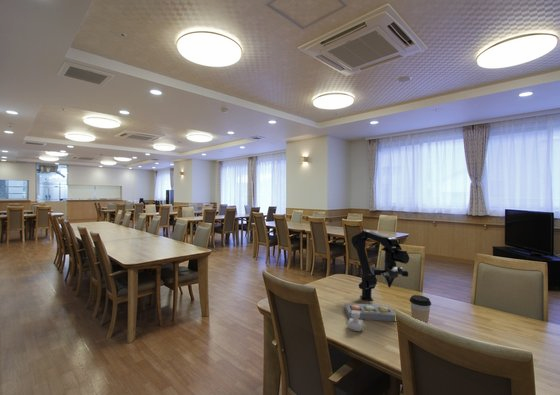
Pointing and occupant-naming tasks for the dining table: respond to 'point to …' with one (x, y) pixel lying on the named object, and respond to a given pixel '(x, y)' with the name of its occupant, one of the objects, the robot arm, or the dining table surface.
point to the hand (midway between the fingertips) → (389, 287)
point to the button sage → (369, 308)
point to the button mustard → (384, 309)
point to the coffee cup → (420, 307)
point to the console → (371, 312)
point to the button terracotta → (355, 307)
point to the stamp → (355, 321)
